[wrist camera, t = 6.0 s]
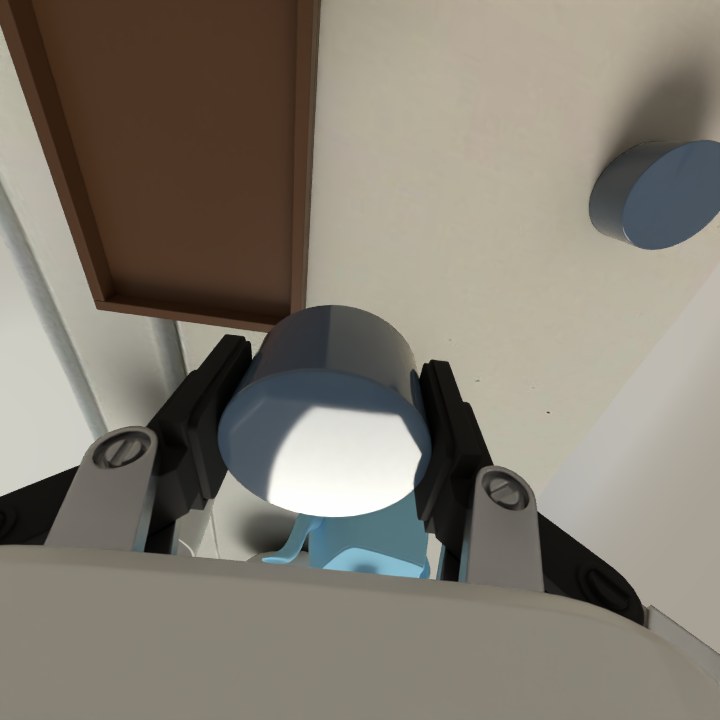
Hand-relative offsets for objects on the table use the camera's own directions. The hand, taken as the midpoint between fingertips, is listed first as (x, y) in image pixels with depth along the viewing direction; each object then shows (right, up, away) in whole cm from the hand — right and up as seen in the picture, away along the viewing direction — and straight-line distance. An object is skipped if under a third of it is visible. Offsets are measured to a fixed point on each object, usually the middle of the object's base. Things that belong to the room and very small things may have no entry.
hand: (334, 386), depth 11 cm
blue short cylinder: (0, 0, 0) cm, 1 cm away
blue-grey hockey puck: (+19, +12, +10) cm, 25 cm away
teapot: (+1, -14, +29) cm, 32 cm away
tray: (-10, +14, +10) cm, 20 cm away
